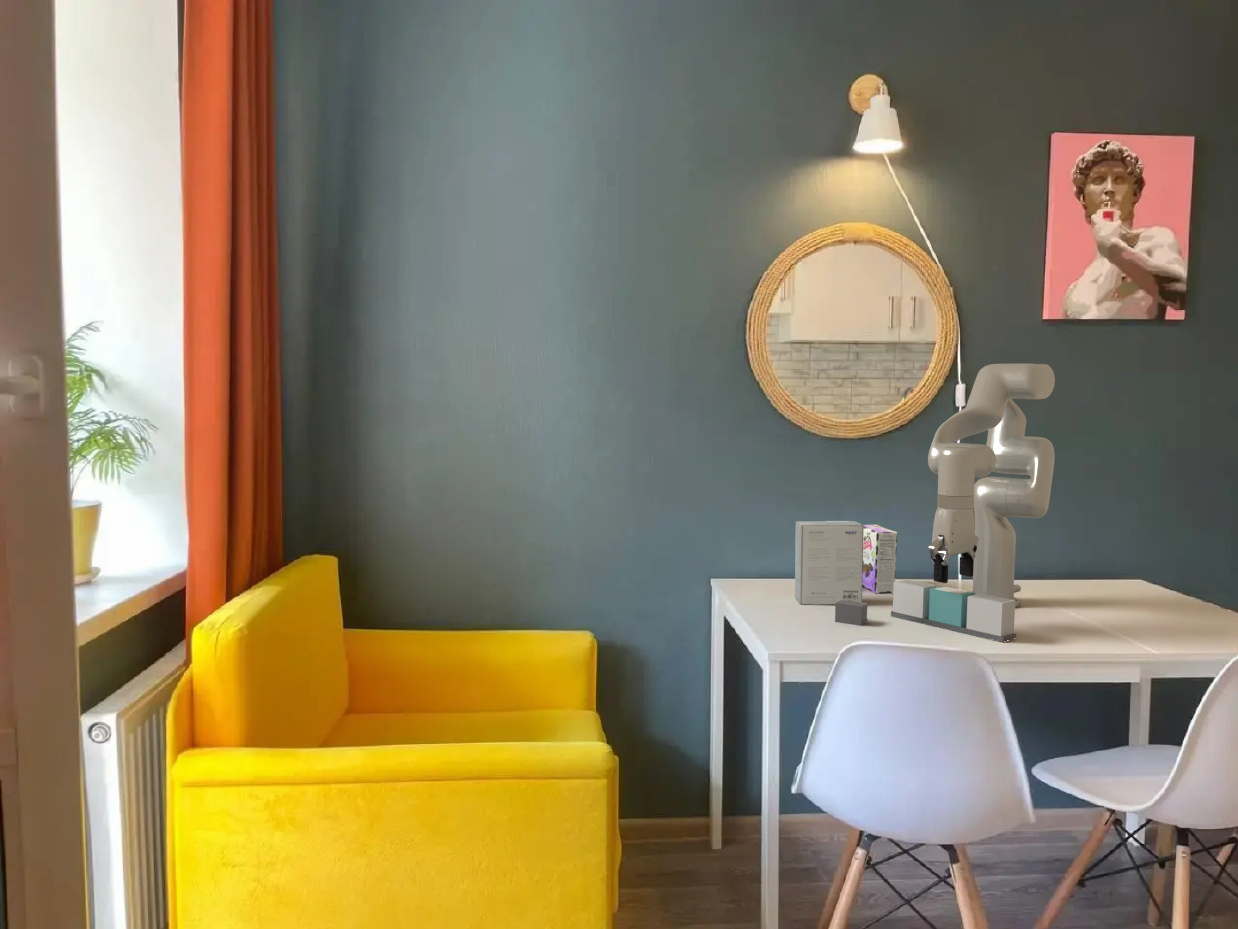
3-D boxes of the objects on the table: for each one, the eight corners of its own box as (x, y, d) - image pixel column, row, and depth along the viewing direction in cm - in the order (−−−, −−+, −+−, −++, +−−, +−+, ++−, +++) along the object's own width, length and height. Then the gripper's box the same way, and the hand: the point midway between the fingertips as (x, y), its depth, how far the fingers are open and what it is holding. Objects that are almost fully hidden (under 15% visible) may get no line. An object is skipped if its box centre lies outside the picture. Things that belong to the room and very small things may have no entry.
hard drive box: (854, 599, 231) (857, 520, 230) (862, 605, 224) (865, 525, 222) (793, 598, 231) (795, 520, 230) (799, 605, 224) (801, 524, 222)
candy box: (855, 583, 251) (857, 524, 250) (875, 583, 252) (877, 524, 251) (874, 594, 238) (876, 531, 237) (896, 593, 238) (898, 531, 237)
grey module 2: (966, 628, 197) (967, 596, 197) (979, 625, 200) (980, 593, 200) (1000, 636, 191) (1002, 602, 190) (1013, 633, 194) (1015, 600, 193)
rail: (890, 616, 213) (890, 611, 213) (903, 613, 216) (904, 608, 216) (1002, 642, 191) (1003, 636, 190) (1015, 639, 194) (1016, 633, 193)
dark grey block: (841, 619, 210) (841, 599, 210) (866, 622, 207) (867, 603, 206) (834, 622, 207) (835, 602, 206) (860, 626, 203) (861, 606, 203)
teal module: (942, 616, 208) (943, 585, 207) (973, 623, 202) (975, 592, 201) (928, 619, 205) (929, 588, 204) (960, 626, 199) (961, 594, 198)
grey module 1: (892, 611, 212) (893, 581, 212) (905, 608, 215) (906, 579, 215) (922, 618, 206) (923, 587, 206) (935, 615, 209) (936, 584, 208)
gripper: (962, 497, 210) (960, 570, 211) (917, 504, 199) (915, 581, 201) (993, 500, 204) (990, 576, 205) (947, 508, 193) (945, 587, 195)
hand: (953, 578), depth 203 cm, fingers open, 9 cm apart
